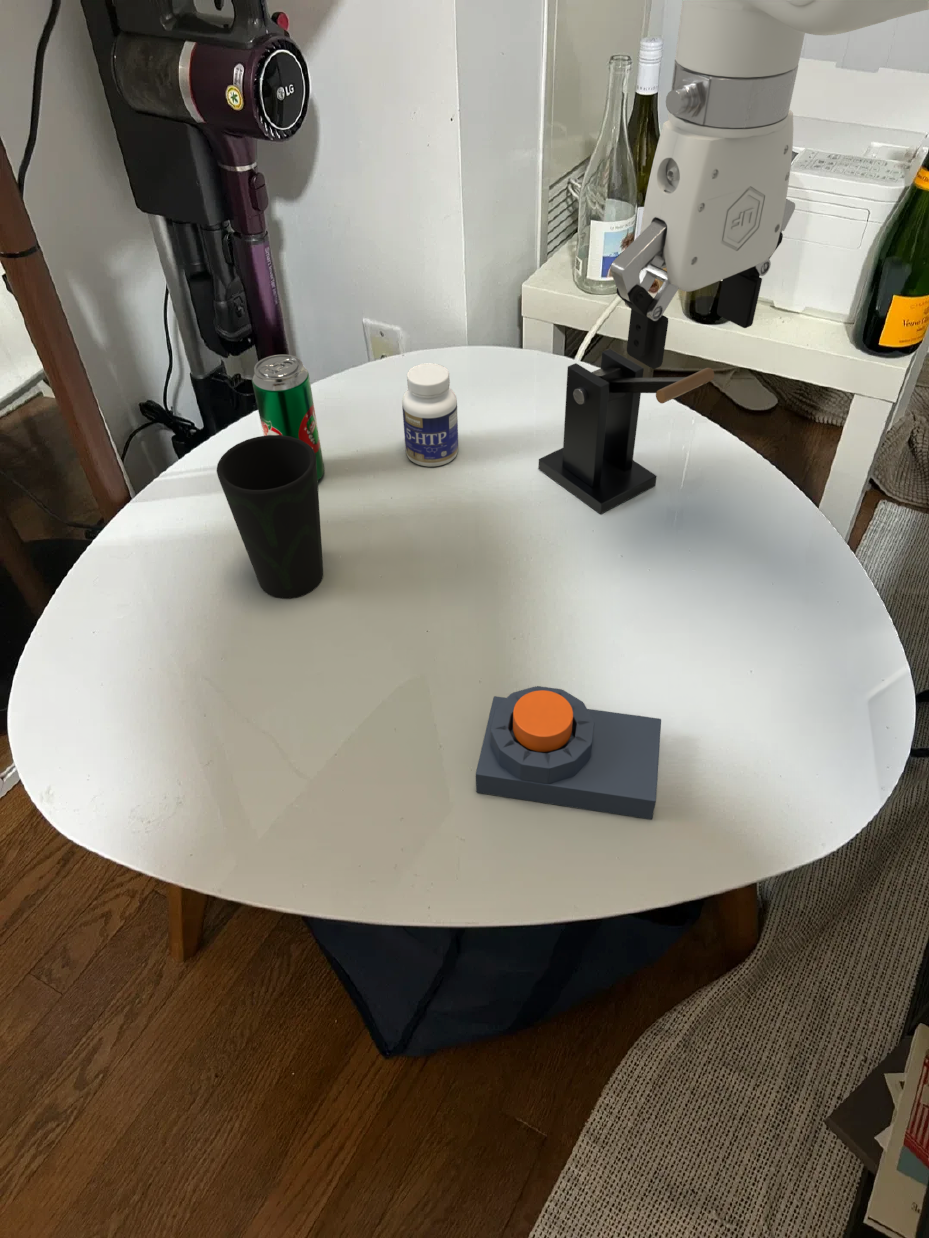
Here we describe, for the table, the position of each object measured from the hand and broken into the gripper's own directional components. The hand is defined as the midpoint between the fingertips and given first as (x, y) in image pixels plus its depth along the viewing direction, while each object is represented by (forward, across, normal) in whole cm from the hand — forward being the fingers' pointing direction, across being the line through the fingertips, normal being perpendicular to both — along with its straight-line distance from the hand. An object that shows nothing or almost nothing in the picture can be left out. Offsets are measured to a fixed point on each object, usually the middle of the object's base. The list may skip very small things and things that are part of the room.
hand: (689, 340), depth 71 cm
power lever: (+7, 0, +4) cm, 8 cm away
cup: (+18, -30, +14) cm, 38 cm away
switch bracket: (+18, 0, +9) cm, 20 cm away
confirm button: (+14, -25, -14) cm, 32 cm away
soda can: (+18, -23, +27) cm, 40 cm away
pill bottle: (+18, -10, +22) cm, 30 cm away
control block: (+18, -24, -15) cm, 34 cm away
